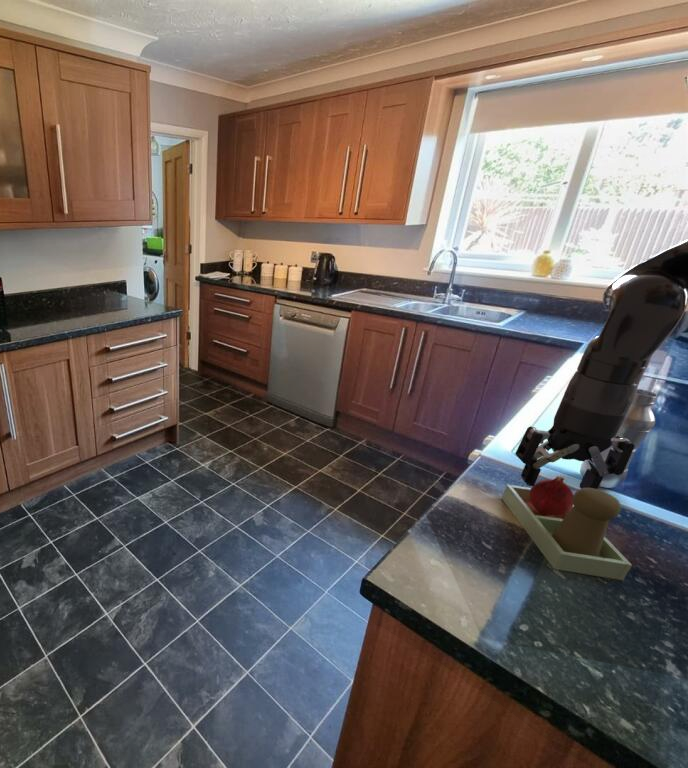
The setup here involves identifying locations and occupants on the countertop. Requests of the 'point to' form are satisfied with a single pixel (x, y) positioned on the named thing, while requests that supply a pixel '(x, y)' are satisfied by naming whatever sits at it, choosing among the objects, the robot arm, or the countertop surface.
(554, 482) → the red round fruit
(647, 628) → the countertop surface
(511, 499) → the sorter
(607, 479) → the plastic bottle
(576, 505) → the cork
